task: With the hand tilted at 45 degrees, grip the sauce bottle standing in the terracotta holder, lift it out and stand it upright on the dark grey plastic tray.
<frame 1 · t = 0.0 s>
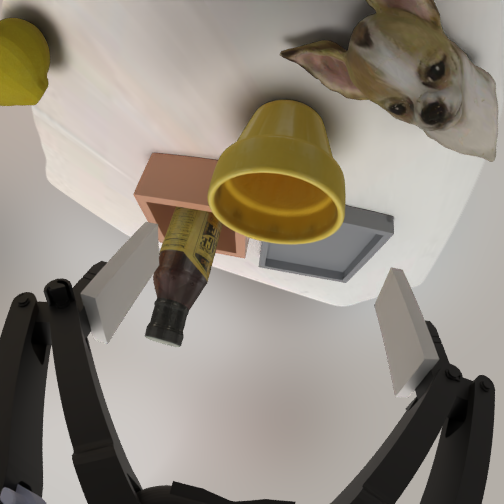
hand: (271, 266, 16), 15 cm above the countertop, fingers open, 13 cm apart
sauce bottle: (207, 187, 39), resting in terracotta holder
terracotta holder: (207, 189, 39), on the countertop
grey tray: (317, 238, 45), on the countertop
lemon: (35, 37, 17), on the countertop
ceramic sculpture: (401, 44, 16), on the countertop
plant pot: (290, 124, 26), on the countertop
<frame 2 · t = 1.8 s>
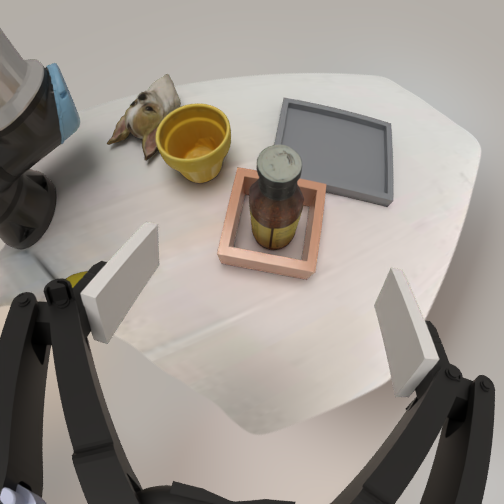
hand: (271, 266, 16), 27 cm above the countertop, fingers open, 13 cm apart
sauce bottle: (271, 231, 45), resting in terracotta holder
terracotta holder: (271, 230, 45), on the countertop
grey tray: (333, 151, 48), on the countertop
ceramic sculpture: (153, 127, 50), on the countertop
plant pot: (201, 165, 48), on the countertop
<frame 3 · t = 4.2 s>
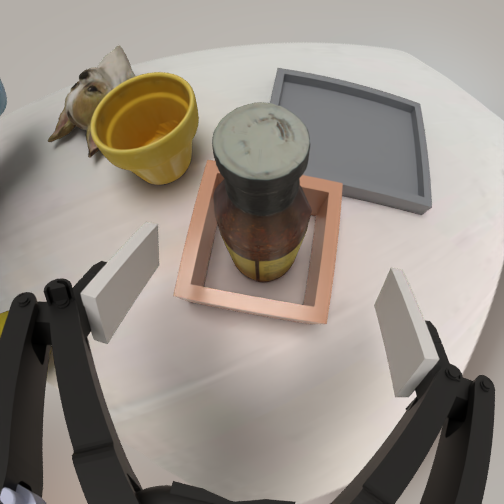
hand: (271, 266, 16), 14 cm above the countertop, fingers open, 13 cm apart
sauce bottle: (261, 253, 31), resting in terracotta holder
terracotta holder: (261, 252, 31), on the countertop
grey tray: (347, 139, 34), on the countertop
ceramic sculpture: (105, 115, 36), on the countertop
plant pot: (164, 160, 34), on the countertop
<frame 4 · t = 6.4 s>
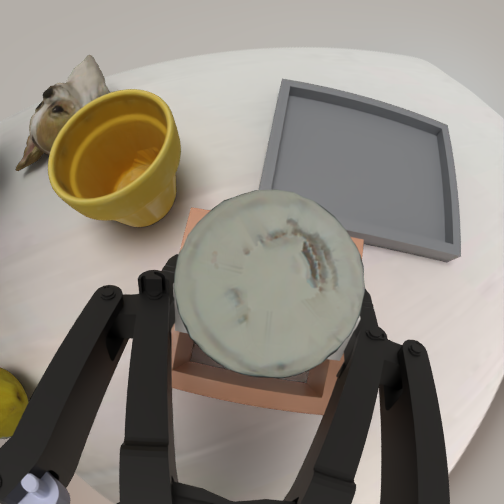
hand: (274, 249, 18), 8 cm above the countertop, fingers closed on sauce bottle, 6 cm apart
sauce bottle: (259, 316, 25), resting in terracotta holder, touching gripper
terracotta holder: (259, 316, 25), on the countertop
grey tray: (365, 168, 29), on the countertop
lemon: (18, 398, 23), on the countertop
ceramic sculpture: (77, 137, 30), on the countertop
plant pot: (145, 195, 28), on the countertop
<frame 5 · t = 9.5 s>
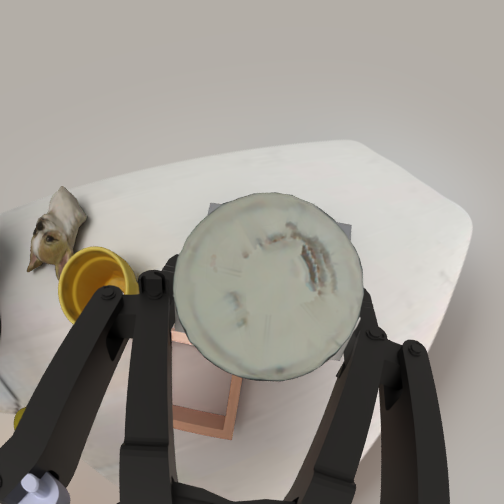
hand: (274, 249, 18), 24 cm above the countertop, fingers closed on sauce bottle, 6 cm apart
sauce bottle: (259, 317, 25), point 16 cm above the countertop, touching gripper
terracotta holder: (196, 376, 39), on the countertop
ceramic sculpture: (67, 243, 44), on the countertop
plant pot: (122, 296, 42), on the countertop
when the fingers open (11 cm above the countertop, at t = 12.7 s): sauce bottle drops 2 cm, resting on grey tray.
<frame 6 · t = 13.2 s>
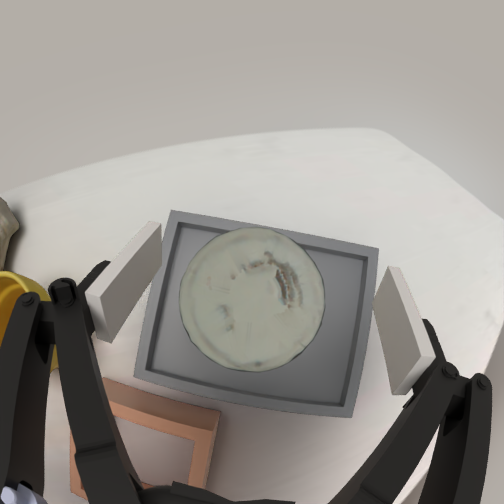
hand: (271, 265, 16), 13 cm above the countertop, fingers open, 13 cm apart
sauce bottle: (258, 318, 27), point 1 cm above the countertop, touching grey tray
terracotta holder: (150, 448, 25), on the countertop
grey tray: (259, 317, 28), on the countertop
ceramic sculpture: (1, 258, 30), on the countertop
plant pot: (59, 333, 28), on the countertop
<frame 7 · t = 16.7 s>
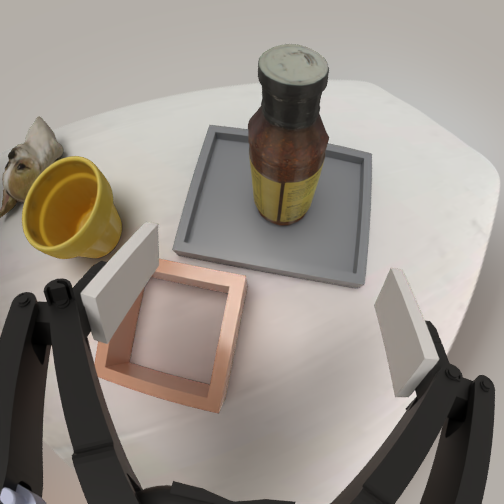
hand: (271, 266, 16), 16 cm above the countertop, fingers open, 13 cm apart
sauce bottle: (280, 202, 34), point 1 cm above the countertop, touching grey tray
terracotta holder: (179, 330, 31), on the countertop
grey tray: (279, 204, 35), on the countertop
ceramic sculpture: (41, 183, 37), on the countertop
plant pot: (100, 231, 34), on the countertop
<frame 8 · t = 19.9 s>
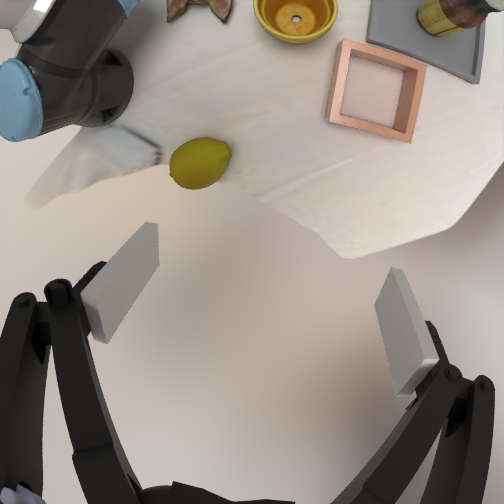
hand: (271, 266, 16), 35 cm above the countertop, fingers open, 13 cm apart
sauce bottle: (430, 20, 30), point 1 cm above the countertop, touching grey tray
terracotta holder: (370, 90, 39), on the countertop
grey tray: (428, 20, 31), on the countertop
lemon: (207, 157, 49), on the countertop
plant pot: (295, 20, 35), on the countertop
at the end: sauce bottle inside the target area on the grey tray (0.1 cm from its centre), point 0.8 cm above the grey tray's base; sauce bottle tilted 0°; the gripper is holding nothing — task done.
